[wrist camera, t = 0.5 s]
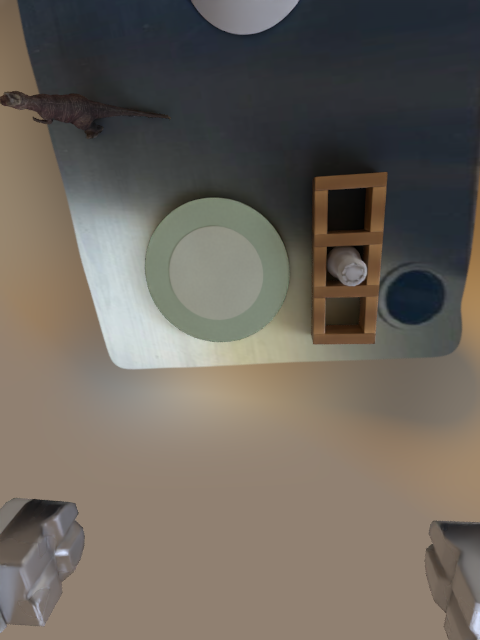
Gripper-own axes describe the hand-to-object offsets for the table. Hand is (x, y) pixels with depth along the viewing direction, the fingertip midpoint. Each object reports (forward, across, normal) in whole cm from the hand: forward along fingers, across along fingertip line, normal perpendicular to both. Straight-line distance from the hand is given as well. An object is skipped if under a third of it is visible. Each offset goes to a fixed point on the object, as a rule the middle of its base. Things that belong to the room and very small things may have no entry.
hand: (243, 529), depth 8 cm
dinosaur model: (+42, +19, -17) cm, 49 cm away
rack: (+42, -9, +2) cm, 43 cm away
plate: (+42, +8, +3) cm, 43 cm away
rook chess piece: (+42, -9, +2) cm, 43 cm away
